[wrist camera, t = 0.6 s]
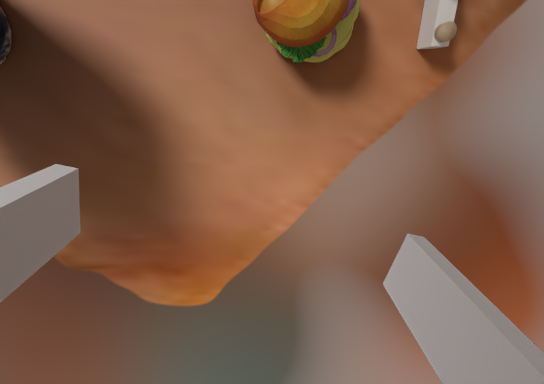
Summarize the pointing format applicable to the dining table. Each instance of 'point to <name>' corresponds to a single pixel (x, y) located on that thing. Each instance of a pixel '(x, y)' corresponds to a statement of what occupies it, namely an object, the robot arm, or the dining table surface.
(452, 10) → the rail
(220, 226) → the dining table surface
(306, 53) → the cheeseburger
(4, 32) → the jug
